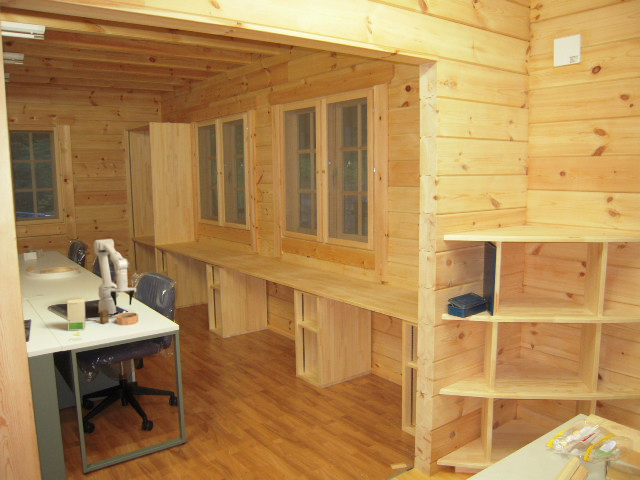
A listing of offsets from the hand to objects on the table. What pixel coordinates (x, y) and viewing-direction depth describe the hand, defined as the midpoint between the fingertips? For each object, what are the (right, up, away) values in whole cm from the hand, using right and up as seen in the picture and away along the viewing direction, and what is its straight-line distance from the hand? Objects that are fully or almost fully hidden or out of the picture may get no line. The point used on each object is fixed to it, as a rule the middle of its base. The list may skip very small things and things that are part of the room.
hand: (123, 304), depth 302 cm
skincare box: (-20, -12, -11) cm, 26 cm away
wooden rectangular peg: (-10, -10, -1) cm, 14 cm away
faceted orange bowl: (+2, -10, +1) cm, 10 cm away
